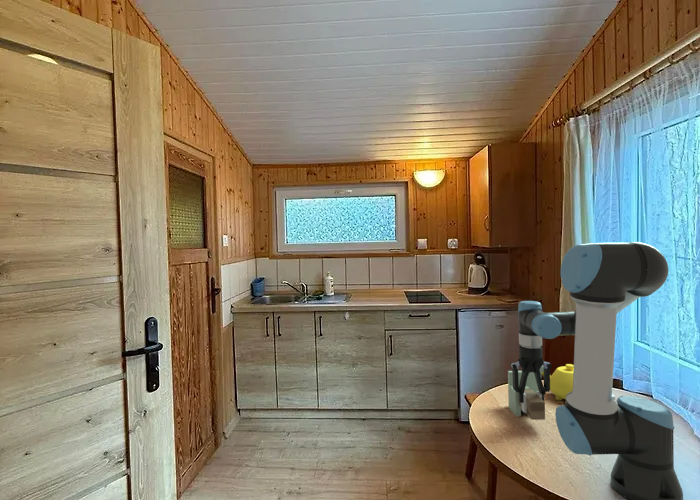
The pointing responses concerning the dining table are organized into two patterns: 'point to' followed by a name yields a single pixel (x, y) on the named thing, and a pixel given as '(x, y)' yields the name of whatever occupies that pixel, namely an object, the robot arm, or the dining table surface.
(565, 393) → the teapot
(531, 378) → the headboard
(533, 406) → the rail
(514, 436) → the dining table surface
